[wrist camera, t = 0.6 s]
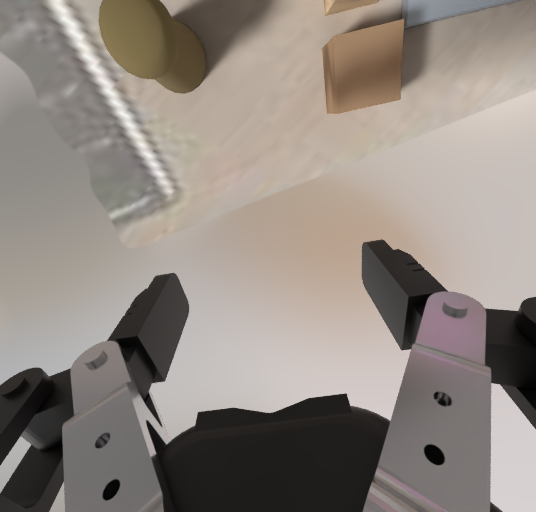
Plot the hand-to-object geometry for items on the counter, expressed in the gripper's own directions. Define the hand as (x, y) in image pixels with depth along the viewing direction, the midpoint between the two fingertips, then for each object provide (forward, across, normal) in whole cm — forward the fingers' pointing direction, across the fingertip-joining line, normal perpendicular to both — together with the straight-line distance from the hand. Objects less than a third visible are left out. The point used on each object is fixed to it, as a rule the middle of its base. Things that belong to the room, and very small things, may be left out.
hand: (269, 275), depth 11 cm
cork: (+25, +7, -12) cm, 28 cm away
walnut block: (+24, -11, -8) cm, 28 cm away
